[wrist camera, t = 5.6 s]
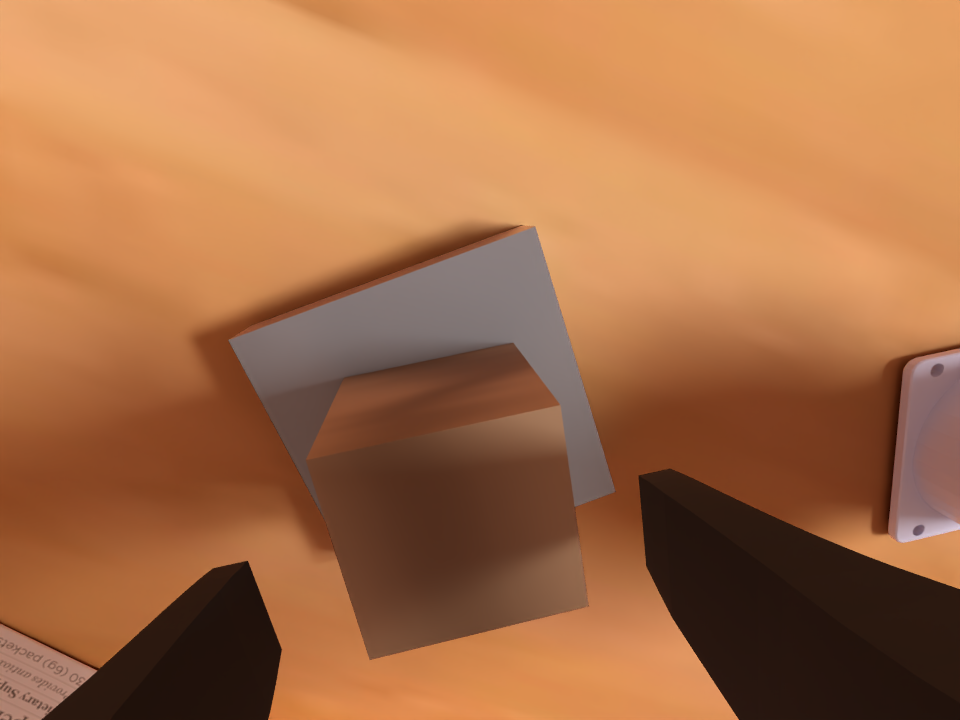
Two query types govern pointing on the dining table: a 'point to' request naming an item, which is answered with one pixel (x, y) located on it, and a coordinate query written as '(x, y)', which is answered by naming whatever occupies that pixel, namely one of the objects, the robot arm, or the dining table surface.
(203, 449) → the dining table surface
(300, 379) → the plate
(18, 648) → the supplement box
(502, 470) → the walnut block
